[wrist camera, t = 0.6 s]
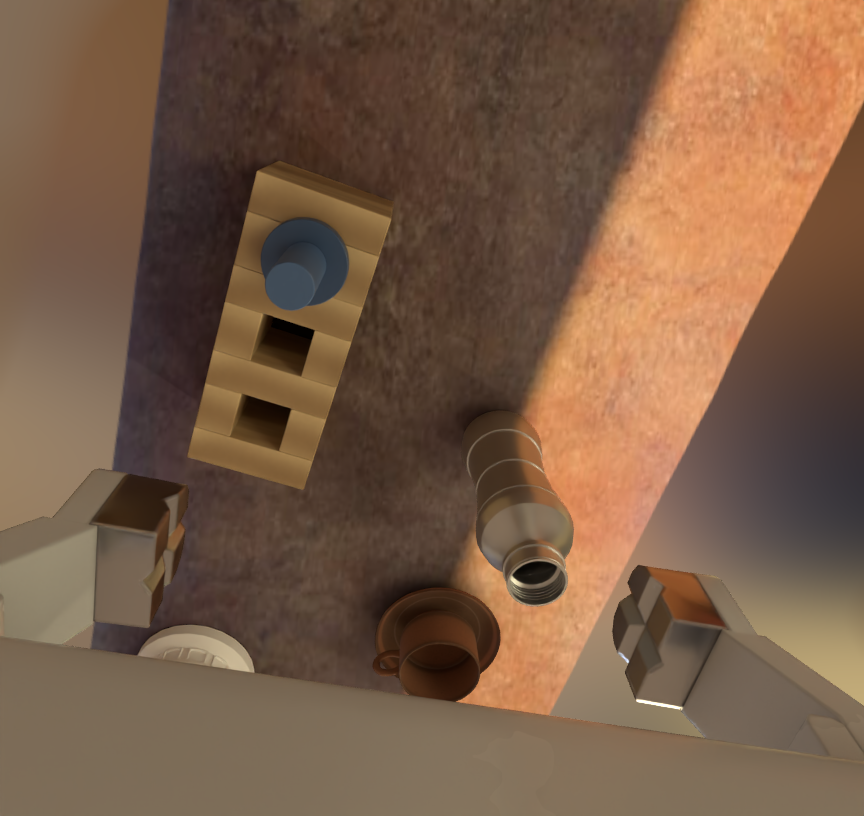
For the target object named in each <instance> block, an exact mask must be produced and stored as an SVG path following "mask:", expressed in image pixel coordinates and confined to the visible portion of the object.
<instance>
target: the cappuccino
mask: <svg viewBox="0 0 864 816" xmlns="http://www.w3.org/2000/svg"><path fill="white" fill-rule="evenodd" d="M499 646H500V629H499V626H498V623H497V620H496V618H495V617H494V615H493V613H492V612H491V610H490V609H489V608H488V607H487V606H486V605H485V604H484V603H483V602H482V601H480V600H479V599H478V598H476V597H474V596H472V595H470V594H468V593H466V592H463V591H460V590H456V589H450V588H429V589H423V590H419V591H416V592H413V593H410V594H408V595H406V596H404V597H402V598H400V599H399V600H397V601H396V602H395V603H393V604H392V605H391V606H390V607H389V608H388V609H387V610H386V612H385V613H384V614H383V616H382V618H381V619H380V621H379V624H378V626H377V630H376V634H375V647H376V652H377V654H378V656H377V657H376V658H375V660H374V662H373V669H374V671H375V672H376V673H377V674H378V675H381V676H392V675H394V676H396V677H397V678H399V680H400V683H401V685H402V687H403V689H404V690H405V691H406V692H407V693H408V694H409V695H411V696H418V697H425V698H432V699H439V700H446V701H452V702H456V701H458V700H461V699H462V698H464V697H466V696H467V695H468V694H470V693H471V692H472V691H473V690H474V688H475V687H476V685H477V684H478V681H479V678H480V674H481V673H482V672H483V671H484V670H486V669H487V668H488V667H489V665H490V664H491V663H492V662H493V660H494V658H495V657H496V655H497V652H498V650H499ZM380 662H382V664H383V665H384V666H385V668H386V669H382V668H381V667H380Z"/></svg>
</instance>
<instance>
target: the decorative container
mask: <svg viewBox="0 0 864 816" xmlns="http://www.w3.org/2000/svg"><path fill="white" fill-rule="evenodd" d="M137 656H143V657H150V658H157V659H164V660H170V661H177V662H184V663H191V664H198V665H205V666H212V667H219V668H225V669H232V670H239V671H246V672H253V673H254V667H253V663H252V659H251V658H250V656H249V654H248V653H247V651H246V649H245V648H244V647H243V646H242V645H241V644H240V643H239V642H238V641H236V640H235V639H234V638H232V637H231V636H229V635H227V634H225V633H224V632H222V631H219V630H216V629H213V628H210V627H207V626H199V625H179V626H173V627H170V628H167V629H164V630H161V631H159V632H158V633H156V634H155V635H153V636H151V637H150V638H149V639H148V640H147V641H146V642H145V644H144V645H143V646H142V647H141V649H140V651H139V653H138V655H137Z"/></svg>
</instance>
